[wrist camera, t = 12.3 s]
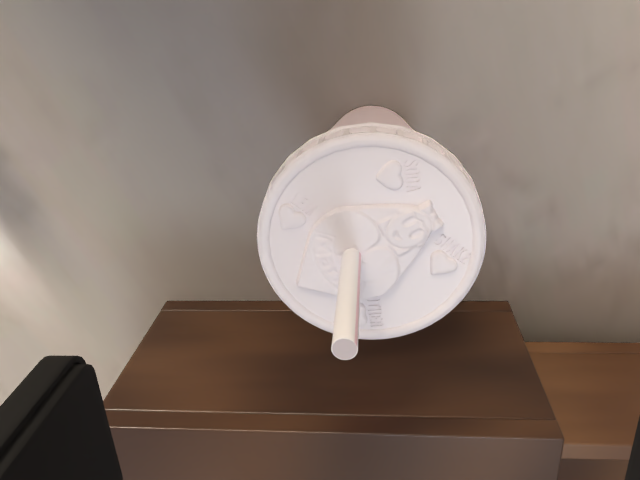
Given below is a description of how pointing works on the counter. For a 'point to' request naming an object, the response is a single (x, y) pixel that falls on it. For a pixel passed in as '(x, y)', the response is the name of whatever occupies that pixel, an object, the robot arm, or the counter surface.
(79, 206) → the counter surface
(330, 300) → the smoothie
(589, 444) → the drawer
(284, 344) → the cabinet
